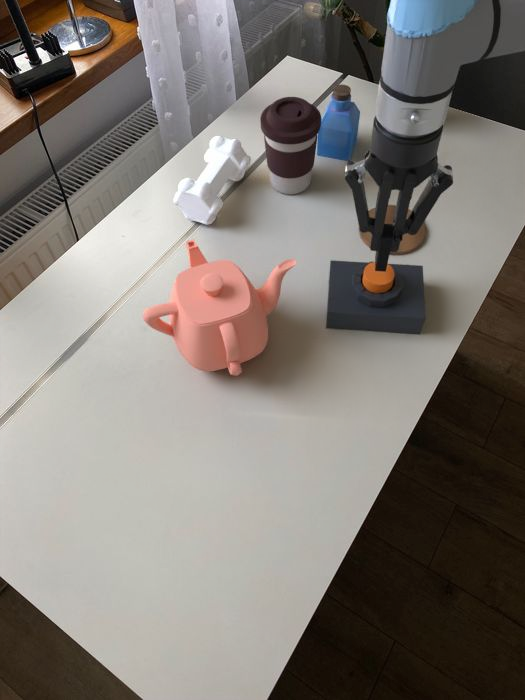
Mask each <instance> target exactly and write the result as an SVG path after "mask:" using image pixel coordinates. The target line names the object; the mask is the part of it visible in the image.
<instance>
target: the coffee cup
mask: <svg viewBox="0 0 525 700" xmlns="http://www.w3.org/2000/svg"><path fill="white" fill-rule="evenodd" d="M321 119H322V114H321V112H320V110H319V109H318V108H317V107H316V106H315V105H314V104H312V103H310V102H309V101H307V100H306V99H304V98H302V97H298V96H284V97H280V98H279V99H277V100H275V101H274V102H272V103H271V104H269V105H268V106H266V107H265V108H264V110H262V112H261V115H260V120H259V121H260V129H261V132H262V134H263V135H264V137H263V139H264V141H263V142H264V149H265V158H266V166H267V169H268V173H269V181H270V185H271V186H272V188H273V189H274V190H275V191H277V193H282V194H283V195H297V194H300V193H302V192H304V191H305V190H306V189H307V188H308V187H309V186H310V183H311V181H312V180H311V179H312V173H313V168H314V164H315V158H316V153H317V141H318V132H319V131H320V128H321Z"/></svg>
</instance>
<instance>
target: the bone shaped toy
mask: <svg viewBox="0 0 525 700" xmlns="http://www.w3.org/2000/svg"><path fill="white" fill-rule="evenodd" d="M203 158H204V161H205V163H207V166H206V167H205V168H204V170H203V171H202V172H201V174H200V175H199V177H198V178H197V180H196V179H193V178H191V177H186V178H183V179H182V180H181V181H180V182H179V183H178V187H177V189H178V191H176V193H175V194H174V197H173V203H174V205H175V206H177V207H178V208H179V210H180V211H181V213H182V214H183V215H184V217H185V219H186V220H188V221H194V222H197V223H200V224H203V225H211V224H212V223H214V222H215V221H216V219H217V214H218V213H219V212H220V211H221V209H222V207H223V200H222V198H220V197H219V196H218V195H219V194H220V192H221V191H222V190H223V187H225V185H226V184H227V182H228V181H229V180H231V181H232V182H239V181H241V180H242V179H243V178H244V177H245V173H246V172H245V171H246V170H247V169H248V168H249V167H250V165H251V162H252V157H251V156H250V155H249V154H247V153H246V151H245V149H244V147H243V145H242V142H241V141H240V140H239V139H238V138H232V139H230V138H226V137H224V136H223V135H216V136H214V137H212V138H211V139H210V141H209V148H207V151H206V152H205V154H204V157H203Z"/></svg>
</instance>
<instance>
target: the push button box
mask: <svg viewBox="0 0 525 700" xmlns="http://www.w3.org/2000/svg"><path fill="white" fill-rule="evenodd" d="M372 262H373V261H369V262H367V261H366V262H364V261H351V260H349V261H348V260H331V259H330V263H329V272H328V273H329V274H328V287H327V303H326V304H327V305H326V321H325V329H330V330H345V331H361V332H374V333H375V332H376V333H388V334H390V333H391V334H405V335H417V336H420V335H421V334H422V330H423V327H424V325H425V321H426V304H425V303H426V301H425V284H424V283H425V282H424V266H423V265H420V264H419V265H418V264H417V265H416V264H403V263H400V264H399V263H388V264H389V265H390V266H391V267H392V268H393V270H394V273H395V276H394V280H393V285H392V287H391V289H390V290H388V291H387V292H385V293H380V294H377V293H372V292H370V291H368V290H367V289H366V288H365V287H364V285H363V282H362V280H363V274H364V269H365V267H366V266H367V265H368V264H370V263H372Z"/></svg>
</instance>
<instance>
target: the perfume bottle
mask: <svg viewBox="0 0 525 700" xmlns="http://www.w3.org/2000/svg"><path fill="white" fill-rule="evenodd" d="M351 92H352V88H351V87H350V86H349V85H347V84H337V85H335V86H333V88H332V93H331V96H330V101H329V103H328V104H327V106H326V108H325V110H324V113H323V115H322V116H321V128H320V131H319V132H318V134H317V144H316V156H320V157H325V158H330V159H337V160H342V161H346V162H348V161H351V157H352V155H353V153H354V149H355V147H356V145H357V144H356V143H357V141H358V135H359V127H360V126H359V125H360V117H361V111H360V109H359V107H358V105H357V104H356V103H355V102H354V101H352V94H351Z"/></svg>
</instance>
